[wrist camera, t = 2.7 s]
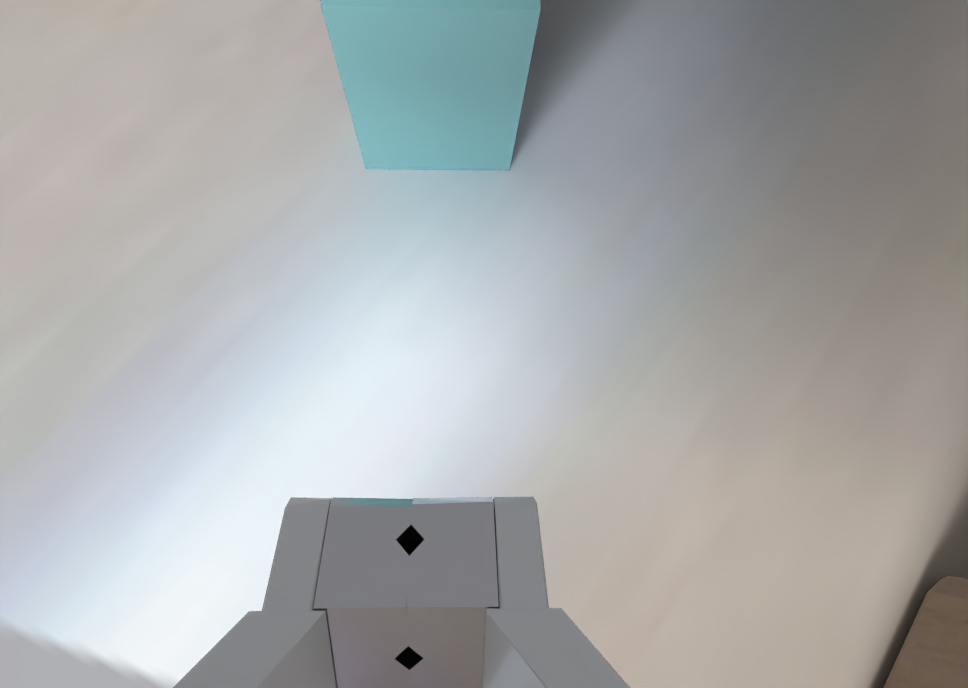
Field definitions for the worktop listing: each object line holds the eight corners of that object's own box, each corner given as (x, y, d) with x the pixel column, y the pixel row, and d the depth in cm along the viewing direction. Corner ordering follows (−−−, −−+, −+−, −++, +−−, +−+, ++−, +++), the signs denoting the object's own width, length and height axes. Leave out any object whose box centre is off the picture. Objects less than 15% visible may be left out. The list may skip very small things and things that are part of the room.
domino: (509, 170, 29) (540, 9, 19) (365, 168, 28) (320, 5, 19) (508, 126, 29) (539, -55, 19) (366, 125, 29) (322, -59, 19)
